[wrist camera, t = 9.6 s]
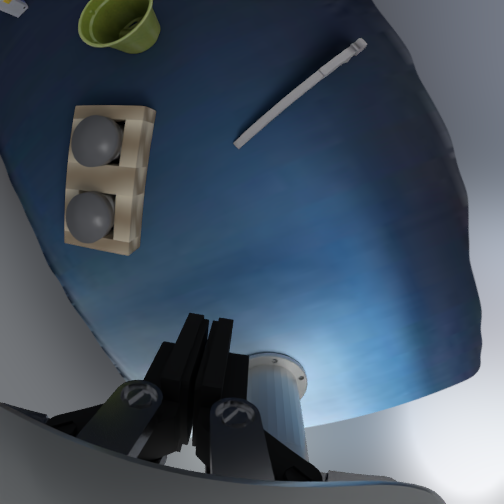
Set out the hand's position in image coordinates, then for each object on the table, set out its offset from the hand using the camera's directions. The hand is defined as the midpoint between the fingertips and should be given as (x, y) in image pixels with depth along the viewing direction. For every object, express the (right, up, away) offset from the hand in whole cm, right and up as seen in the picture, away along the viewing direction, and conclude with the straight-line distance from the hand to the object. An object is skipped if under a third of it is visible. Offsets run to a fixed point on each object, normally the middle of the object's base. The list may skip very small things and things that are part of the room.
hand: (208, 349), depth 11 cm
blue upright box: (-41, +49, +15) cm, 66 cm away
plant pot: (-13, +33, +20) cm, 40 cm away
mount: (-17, +14, +25) cm, 33 cm away
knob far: (-18, +9, +26) cm, 33 cm away
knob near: (-16, +18, +24) cm, 34 cm away
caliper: (+7, +23, +22) cm, 33 cm away
